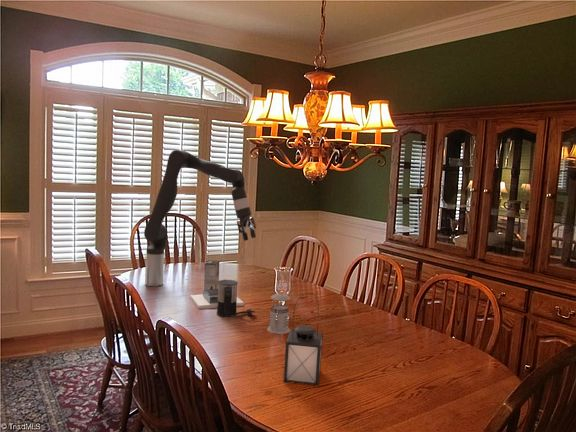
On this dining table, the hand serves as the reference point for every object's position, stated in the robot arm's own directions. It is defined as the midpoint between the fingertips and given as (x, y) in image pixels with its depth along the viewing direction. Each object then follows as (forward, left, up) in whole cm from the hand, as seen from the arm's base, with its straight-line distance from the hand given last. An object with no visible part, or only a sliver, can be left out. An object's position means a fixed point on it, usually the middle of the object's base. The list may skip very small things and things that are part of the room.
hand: (250, 239), depth 238 cm
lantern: (-12, -91, -30) cm, 97 cm away
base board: (-17, -4, -30) cm, 35 cm away
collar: (-17, -4, -29) cm, 34 cm away
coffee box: (-15, +14, -30) cm, 37 cm away
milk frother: (-14, -25, -31) cm, 42 cm away
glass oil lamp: (-3, -49, -30) cm, 58 cm away
